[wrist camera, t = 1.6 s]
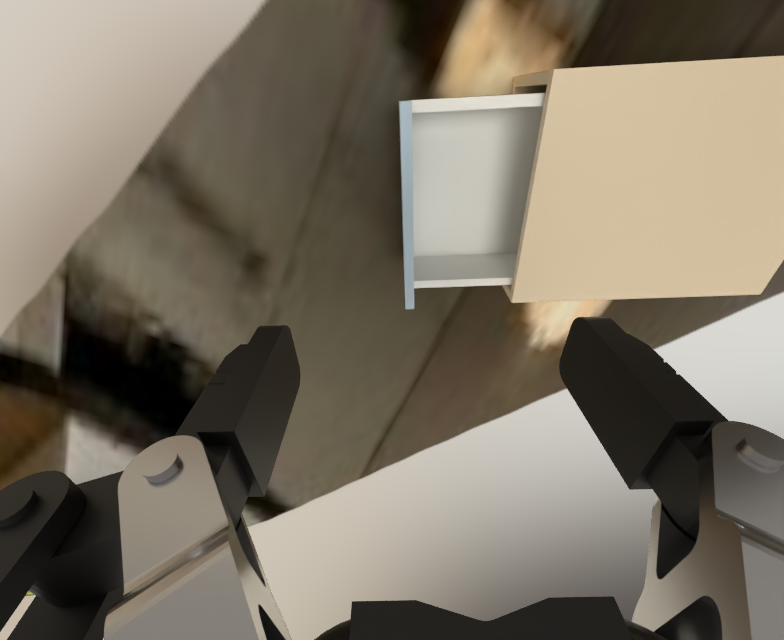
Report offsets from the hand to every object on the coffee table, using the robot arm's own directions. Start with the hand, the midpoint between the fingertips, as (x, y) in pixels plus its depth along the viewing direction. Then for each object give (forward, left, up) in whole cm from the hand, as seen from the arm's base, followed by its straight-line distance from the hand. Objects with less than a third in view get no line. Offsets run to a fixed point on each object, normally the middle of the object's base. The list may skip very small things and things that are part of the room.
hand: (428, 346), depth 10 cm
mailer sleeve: (-16, 0, -21) cm, 27 cm away
